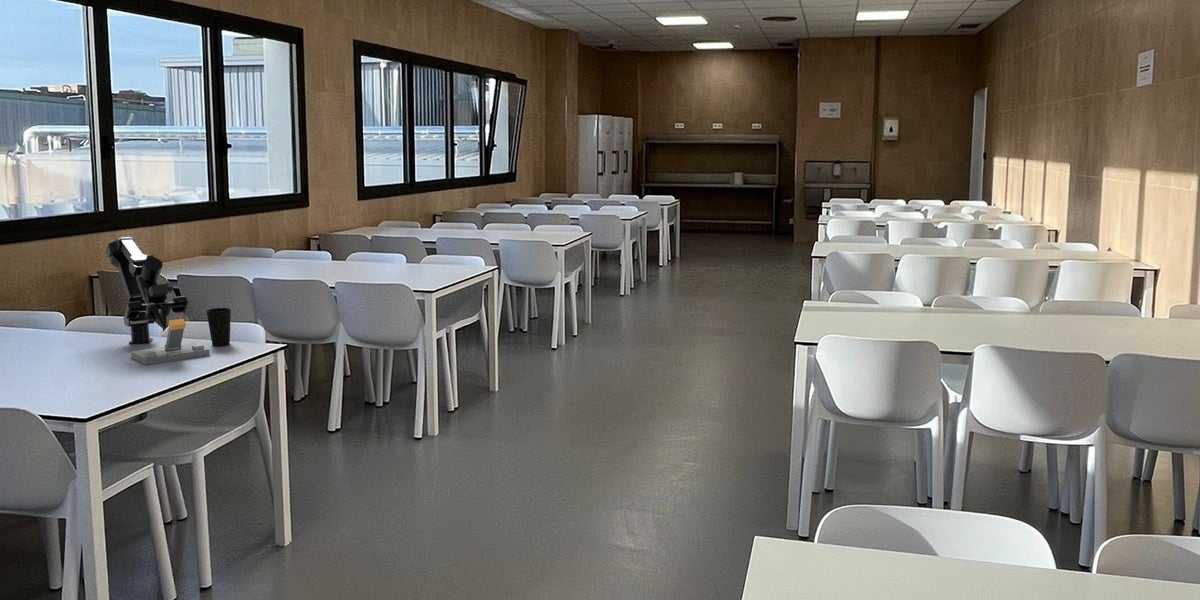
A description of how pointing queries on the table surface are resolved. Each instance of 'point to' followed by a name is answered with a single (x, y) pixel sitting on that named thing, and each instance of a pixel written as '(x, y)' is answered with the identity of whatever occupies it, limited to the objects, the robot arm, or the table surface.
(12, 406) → the table surface
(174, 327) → the handle
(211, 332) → the cup
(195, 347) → the panel
